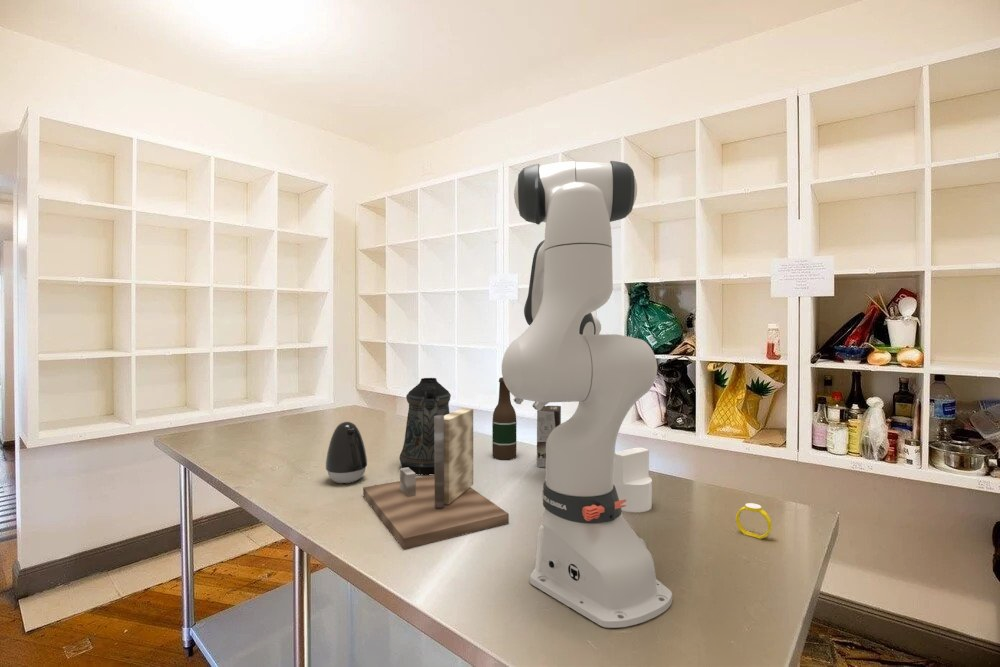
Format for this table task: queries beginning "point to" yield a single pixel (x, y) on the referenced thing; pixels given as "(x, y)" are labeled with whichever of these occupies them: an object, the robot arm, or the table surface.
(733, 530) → the table surface
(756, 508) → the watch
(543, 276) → the robot arm
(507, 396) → the beer bottle
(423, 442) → the beer stein
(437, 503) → the wood grain panel
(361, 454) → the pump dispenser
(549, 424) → the coffee box
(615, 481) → the base with upright slab
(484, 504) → the wooden board with peg
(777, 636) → the table surface
